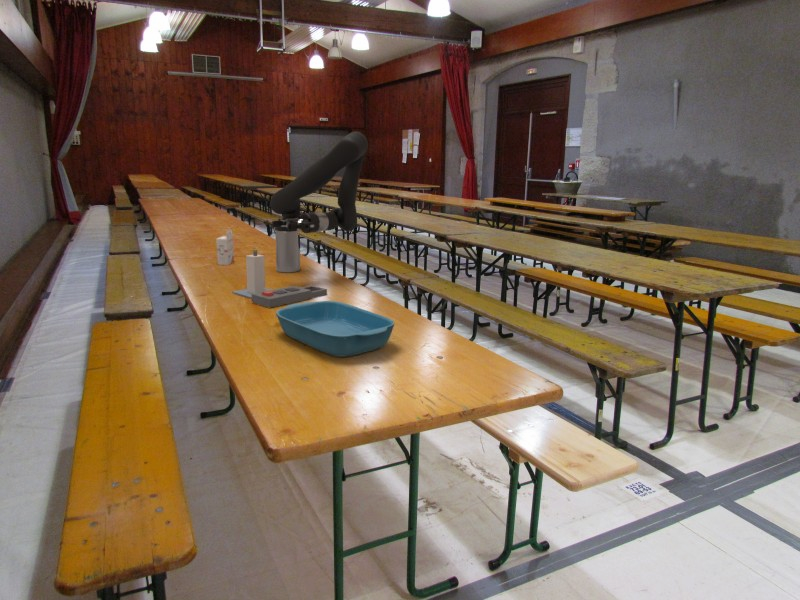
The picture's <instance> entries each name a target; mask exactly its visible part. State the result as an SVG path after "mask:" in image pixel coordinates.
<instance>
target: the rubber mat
mask: <svg viewBox="0 0 800 600" xmlns="http://www.w3.org/2000/svg"><path fill="white" fill-rule="evenodd" d="M270 290H272V289H271V288H267V287H265V291H270ZM231 293H232V294H233V293H234V295H236V294H237V296H240V295H241V296H240V297H243V296H244V297H243V298H247V297H248V298H247V299H250V298H252V294H253V293H250V292H247V288H244V289H239V290H238V289H237V290H234V291H232V292H231Z"/></svg>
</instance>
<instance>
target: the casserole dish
mask: <svg viewBox="0 0 800 600" xmlns="http://www.w3.org/2000/svg"><path fill="white" fill-rule="evenodd" d="M275 315H276V317H277V320H278V322H279V325H280V327H281V329H282V332H284V333H285V334H286V335H287V336H288V337H290V338H292V339H294V340H295V339H296V340H295V341H297V340H298V342H300V343H302V344H303V345H306V344H307V346H309V347H310V348H313V349H315V350H317V351H320V352H322V353H324V354H328V355H330V356H334V357H339V358H340V357H341V358H346V357H352V356H357V355H361V354H365V353H367V352H371V351H375V350H378V349H380V348H382V347H384V346H385V345H386V344H387V343H388V341H389V340H390V337H391V335H392V332H393V330H394V328H395V327H394V326H395V321H394V319H393V320H392V319H391V318H390V317H386V316H384V315H380V314H378V313H375V312H372V311H369V310H366V309H363V308H360V307H357V306H354V305H351V304H348V303H345V302H341V301H335V300H319V301H305V302H296V303H291V304H287V305H286V306H285V307H281V308H280V309H277V310H276V311H275Z"/></svg>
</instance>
